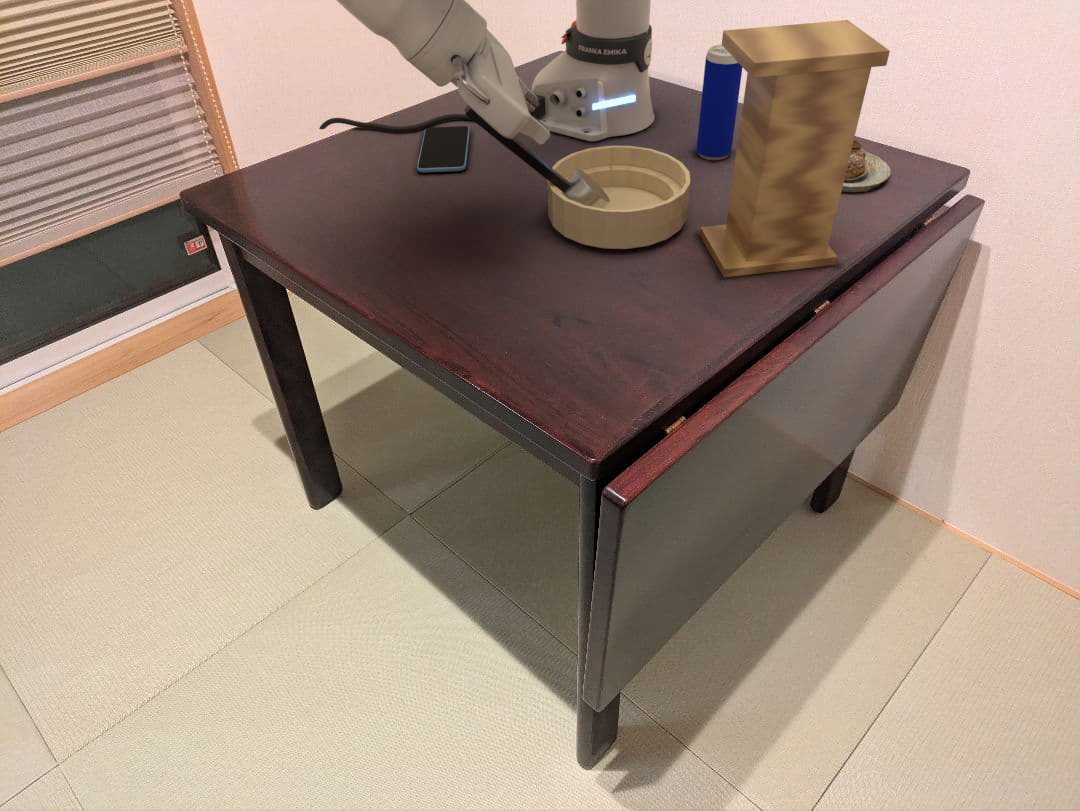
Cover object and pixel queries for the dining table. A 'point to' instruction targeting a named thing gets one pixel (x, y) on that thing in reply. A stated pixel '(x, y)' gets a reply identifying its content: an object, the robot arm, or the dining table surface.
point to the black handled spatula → (550, 169)
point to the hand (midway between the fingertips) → (540, 121)
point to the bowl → (623, 197)
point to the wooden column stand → (792, 143)
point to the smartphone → (444, 149)
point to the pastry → (864, 170)
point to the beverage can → (718, 104)
